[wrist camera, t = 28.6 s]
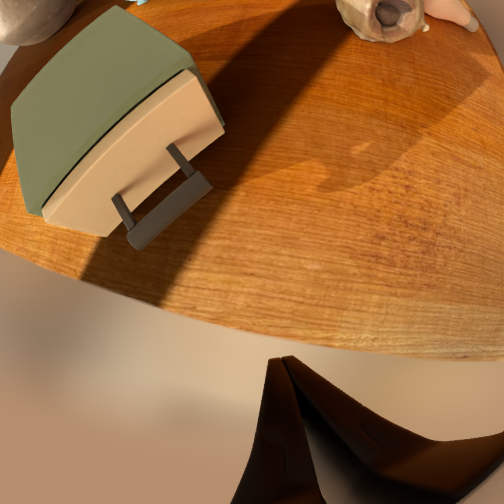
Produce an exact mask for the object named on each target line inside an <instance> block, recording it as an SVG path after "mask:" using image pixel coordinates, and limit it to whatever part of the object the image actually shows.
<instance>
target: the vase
mask: <svg viewBox="0 0 504 504" xmlns="http://www.w3.org/2000/svg"><path fill="white" fill-rule="evenodd" d="M76 4H77V0H0V41H1V42H2V43H4V44H7V45H13V46H14V45H15V46H26V45H32V44H36V43H39V42H42V41H44V40H46V39H48V38H49V37H51V36H52V35H53V34H54V33H55V32H57V31H58V30H59V29H60V28H61V27H62V26H63V25H64V24H65V23H66V22H67V21H68V20H69V18H70V17H71V15H72V14H73V12H74V9H75V7H76Z"/></svg>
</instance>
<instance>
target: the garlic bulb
mask: <svg viewBox="0 0 504 504" xmlns="http://www.w3.org/2000/svg"><path fill="white" fill-rule="evenodd" d="M336 5H337V9H338V11H339V12H340V13H341V16H342V18H343V20H344V22H345V23H346V24H347V25H348V26H349V27H351V28H352V29H353V31H354V32H355V33H356V34H357V35H358V36H359V37H360V38H361V39H365V40H368V41H371V42H375V41H381V42H387V43H394V42H395V41H399V40H402V39H404V38H406V37H410V36H412V35H413V34H414V33H415V32H416V31H417V30H418V29H419V28H420V27H421V28H422V31H423V32H425V31H428V30H429V28H430V26H429V25H428V24H427V23H425V21H424V11H425V9H424V0H336Z"/></svg>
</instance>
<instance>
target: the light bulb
mask: <svg viewBox="0 0 504 504" xmlns="http://www.w3.org/2000/svg"><path fill="white" fill-rule="evenodd" d="M424 9H425V11H424V12H425V13H427V14H429V15H431V16H433V17H435V18H439V19H445V20H449V21H453V22H455V23H457V24H458V25H462V26H463V27H464V28H466V29H467V30H468V31H470V32H475V31H476V30H477V29H478V27H479V22H478V20H477V19H476V18H474V17H473V16H472V15H471V14H470V13H469V11H468V10H467V9H466V8H465V7H464V6H463V5H462V3H461V2H460V0H424Z"/></svg>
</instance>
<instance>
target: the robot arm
mask: <svg viewBox="0 0 504 504" xmlns="http://www.w3.org/2000/svg"><path fill="white" fill-rule="evenodd" d="M320 490H321V491H320ZM321 492H322V493H321ZM322 494H323V496H322ZM323 497H324V498H323ZM230 504H504V431H503V432H501V433H498V434H495V435H491V436H485V437H479V438H473V439H464V440H455V441H444V442H443V441H434V440H430V439H427V438H425V437H422V436H420V435H418V434H415V433H413V432H411V431H409V430H407V429H405V428H403V427H400V426H398V425H396V424H394V423H392V422H390V421H388V420H387V419H385V418H383V417H381V416H379V415H378V414H376V413H374V412H373V411H371V410H370V409H368V408H367V407H365V406H363V405H362V404H361V403H359V402H358V401H356V400H355V399H353V398H352V397H350V396H349V395H347V394H346V393H344V392H343V391H342V390H340V389H339V388H337V387H336V386H334V385H333V384H331V383H330V382H329V381H327V380H326V379H325V378H323V377H322V376H320V375H319V374H318V373H316V372H315V371H313V370H312V369H311V368H309V367H308V366H307V365H305V364H304V363H302V362H301V361H300V360H298V359H297V358H295V357H294V356H285V357H282V358H272V359H269V360H268V365H267V371H266V378H265V384H264V389H263V395H262V400H261V406H260V412H259V417H258V423H257V429H256V433H255V438H254V443H253V447H252V451H251V455H250V457H249V460H248V463H247V466H246V468H245V471H244V473H243V476H242V478H241V481H240V483H239V485H238V488H237V490H236V492H235V494H234V497H233V499H232V501H231V503H230Z"/></svg>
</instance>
